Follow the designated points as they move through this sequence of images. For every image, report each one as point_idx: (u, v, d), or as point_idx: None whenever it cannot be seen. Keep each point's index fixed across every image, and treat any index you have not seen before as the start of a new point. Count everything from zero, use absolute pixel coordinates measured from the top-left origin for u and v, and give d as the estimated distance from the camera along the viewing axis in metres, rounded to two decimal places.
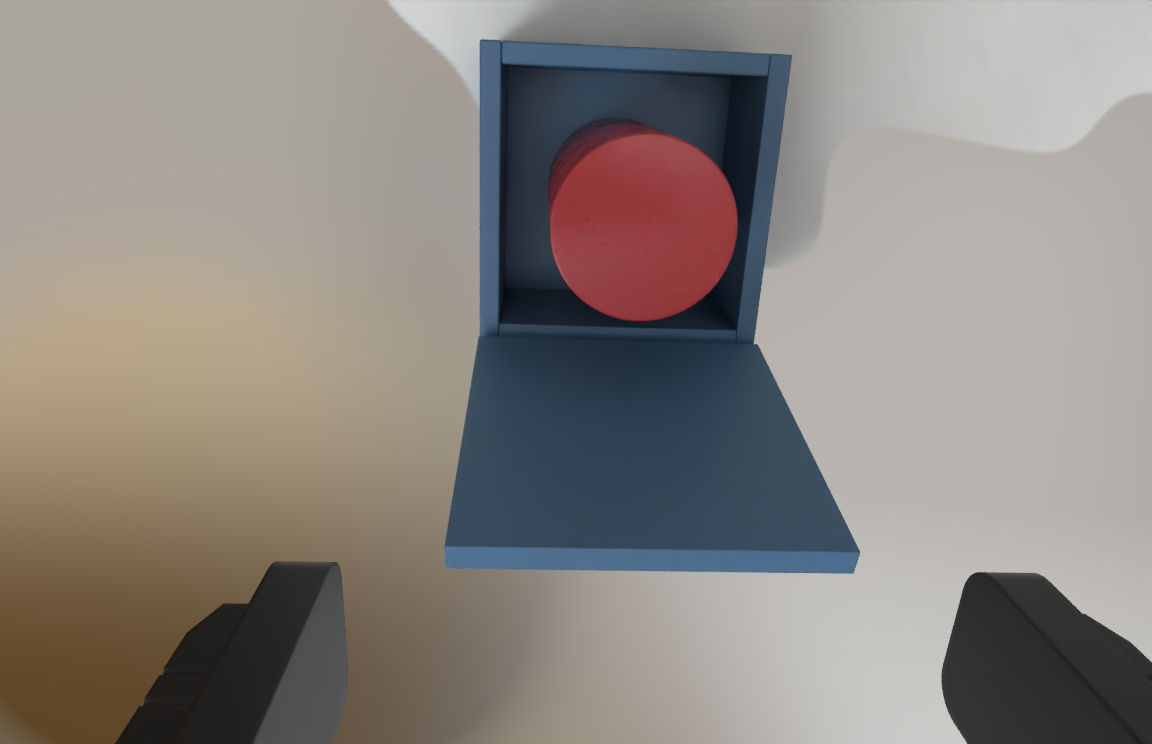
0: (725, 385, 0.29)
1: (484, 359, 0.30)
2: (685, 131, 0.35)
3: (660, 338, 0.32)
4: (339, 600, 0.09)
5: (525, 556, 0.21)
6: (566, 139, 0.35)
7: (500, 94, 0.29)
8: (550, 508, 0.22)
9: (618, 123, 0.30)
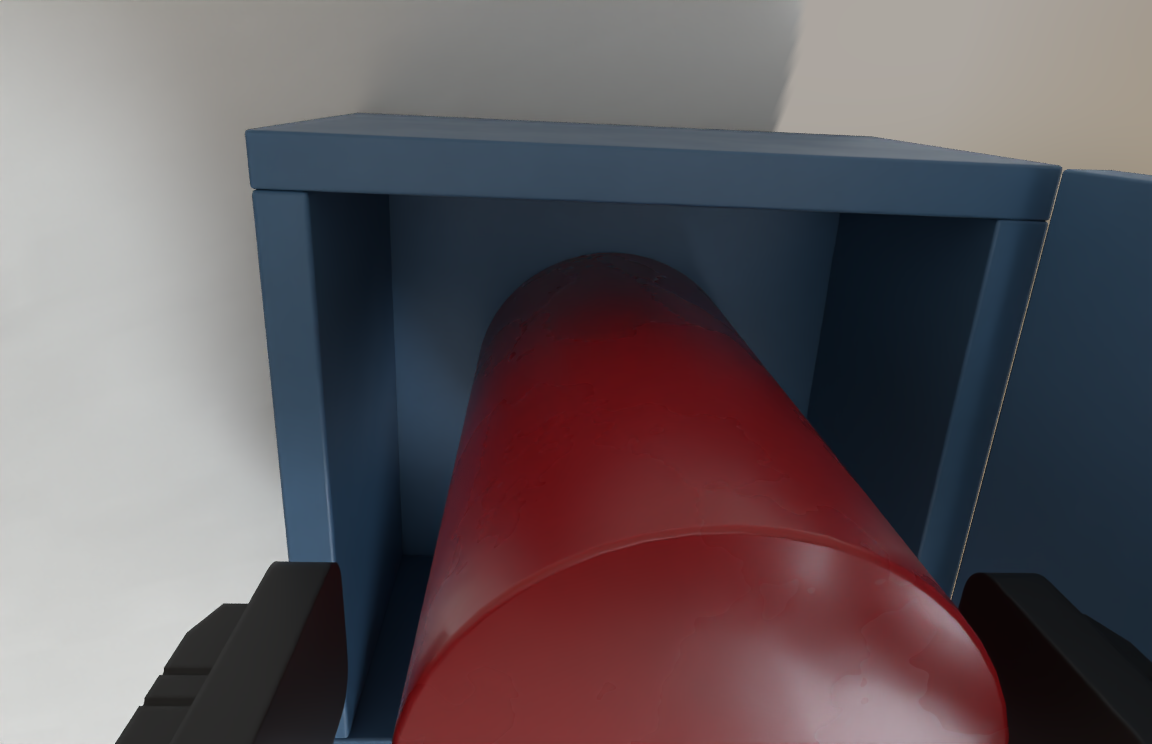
0: None
1: None
2: (499, 245, 0.17)
3: (977, 420, 0.12)
4: (339, 600, 0.09)
5: None
6: None
7: None
8: None
9: None
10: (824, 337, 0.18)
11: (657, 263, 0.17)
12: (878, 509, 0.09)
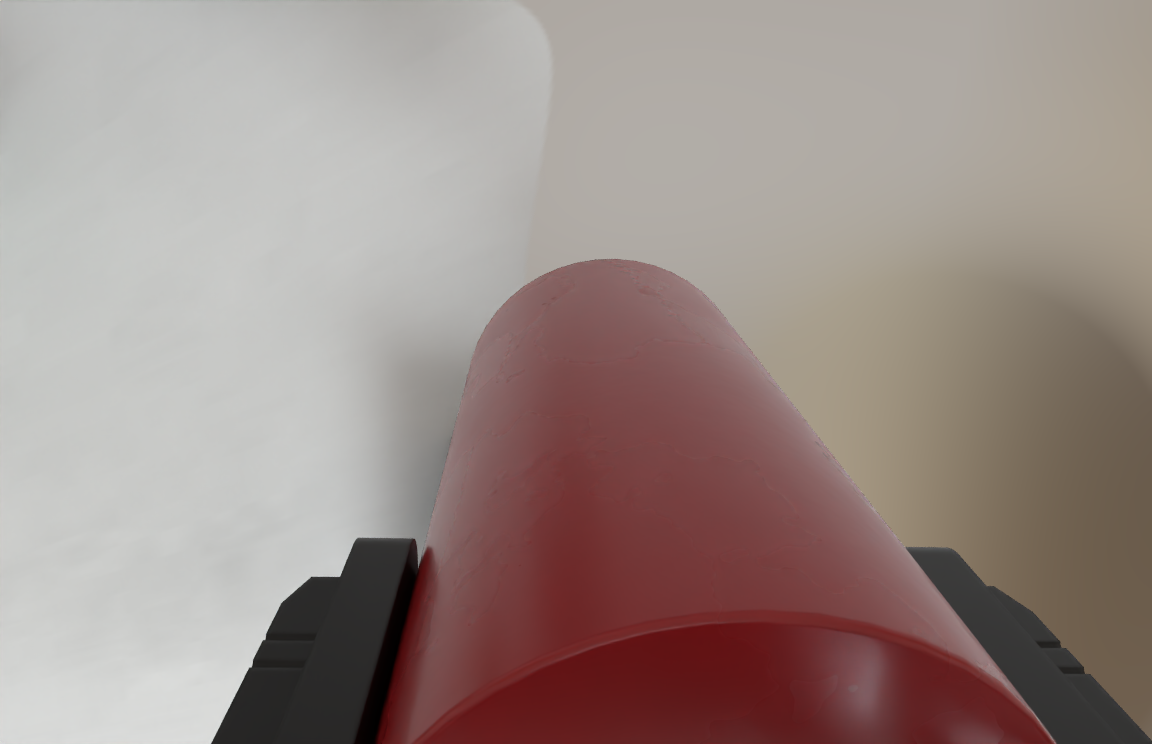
0: None
1: None
2: None
3: None
4: (416, 575, 0.10)
5: None
6: None
7: None
8: None
9: None
10: None
11: (661, 270, 0.16)
12: None
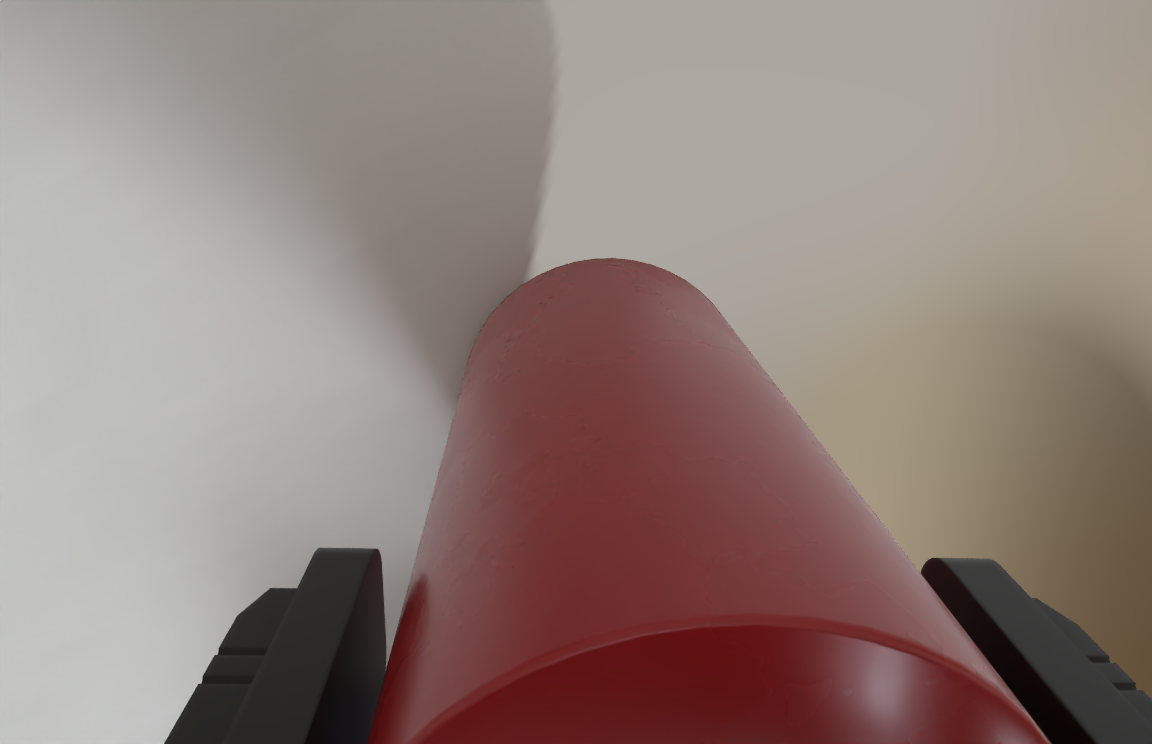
0: None
1: None
2: None
3: None
4: (380, 586, 0.10)
5: None
6: None
7: None
8: None
9: None
10: None
11: (658, 270, 0.16)
12: (917, 569, 0.07)
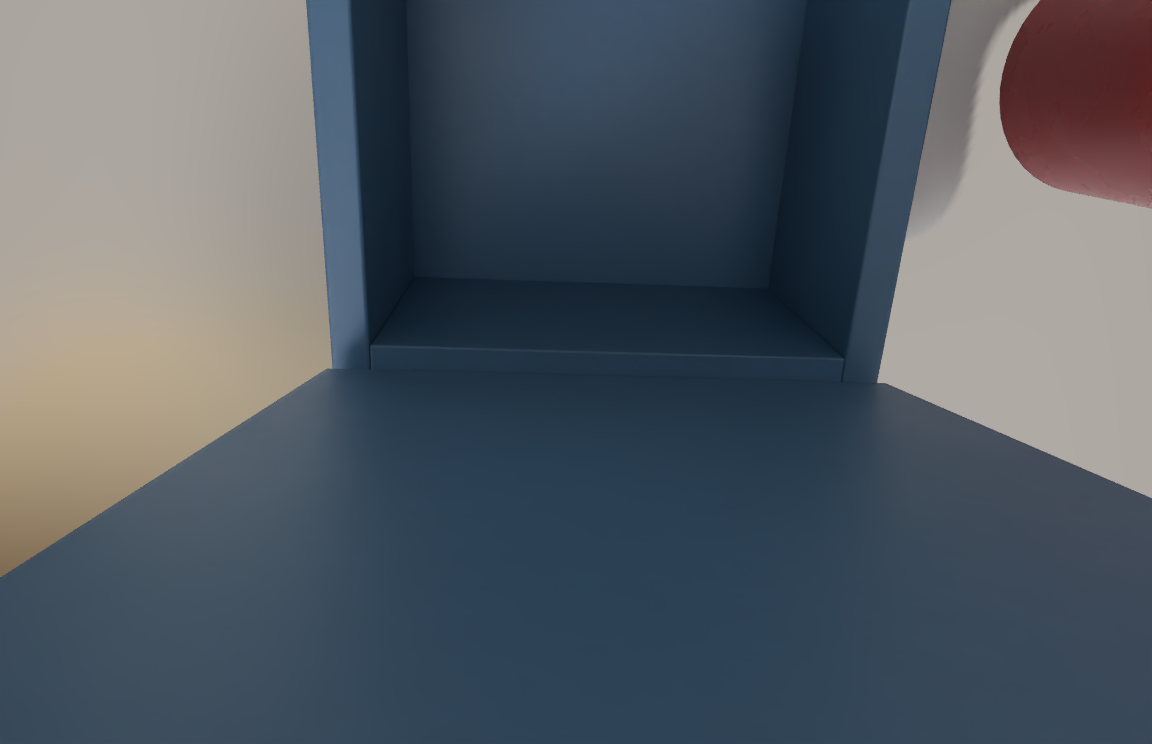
0: (856, 419, 0.13)
1: (317, 387, 0.14)
2: None
3: (693, 374, 0.16)
4: None
5: None
6: None
7: None
8: (332, 648, 0.05)
9: None
10: (641, 286, 0.21)
11: None
12: None
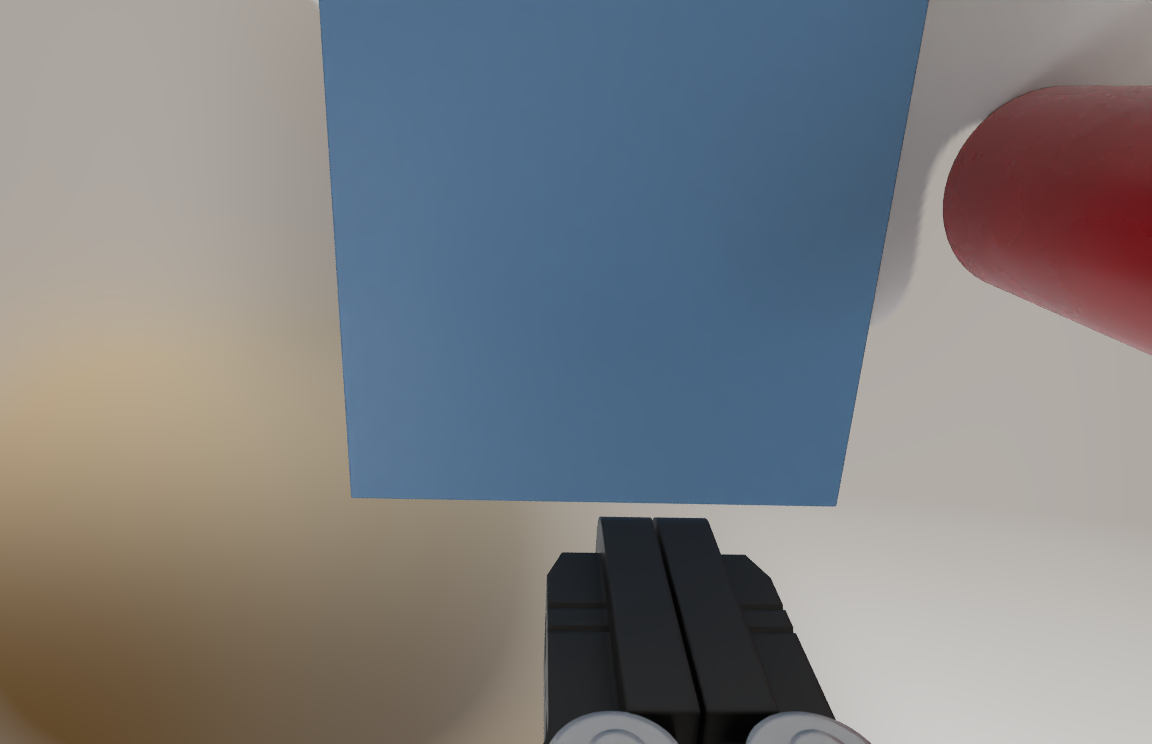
0: None
1: None
2: None
3: None
4: None
5: None
6: (989, 119, 0.23)
7: None
8: None
9: None
10: None
11: None
12: None
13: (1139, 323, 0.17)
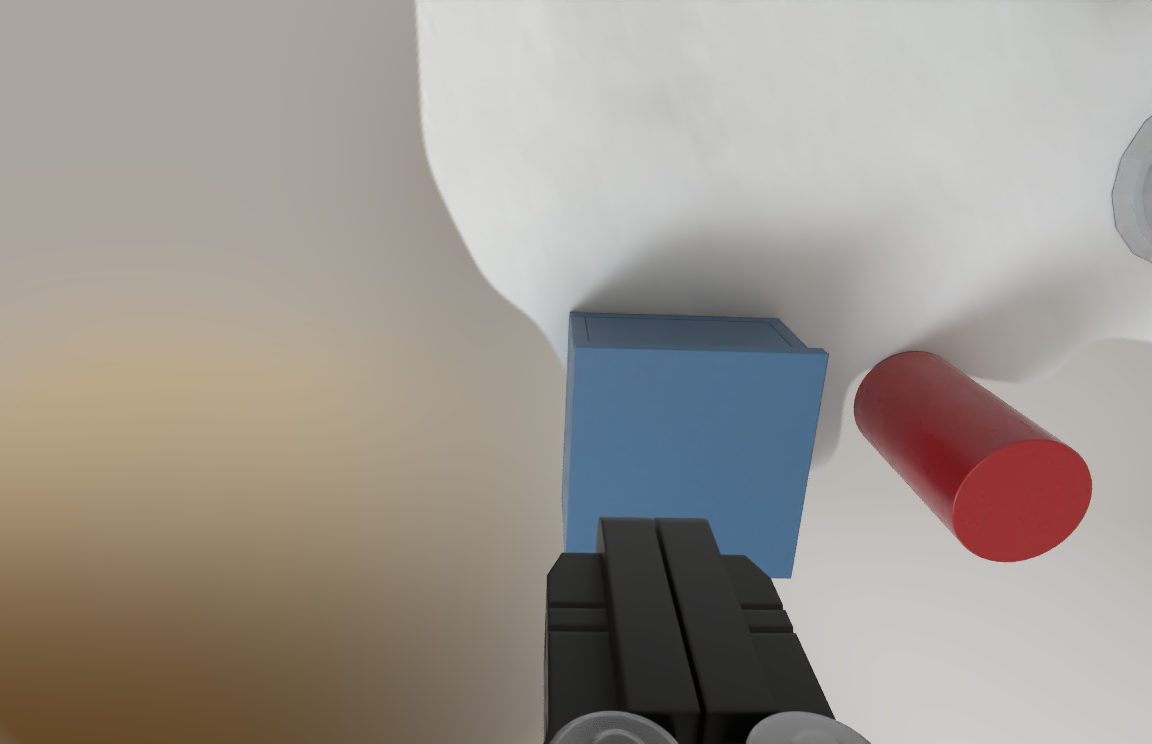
0: None
1: None
2: None
3: None
4: None
5: (623, 344, 0.35)
6: (875, 368, 0.43)
7: None
8: None
9: (955, 385, 0.38)
10: None
11: None
12: None
13: (924, 500, 0.37)
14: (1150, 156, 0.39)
